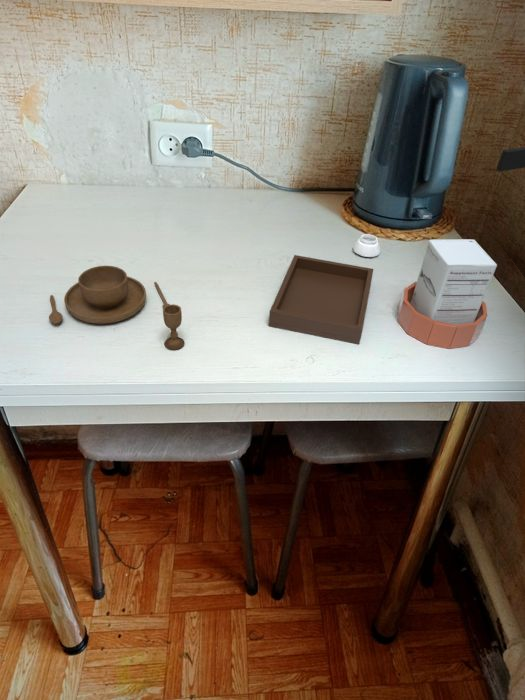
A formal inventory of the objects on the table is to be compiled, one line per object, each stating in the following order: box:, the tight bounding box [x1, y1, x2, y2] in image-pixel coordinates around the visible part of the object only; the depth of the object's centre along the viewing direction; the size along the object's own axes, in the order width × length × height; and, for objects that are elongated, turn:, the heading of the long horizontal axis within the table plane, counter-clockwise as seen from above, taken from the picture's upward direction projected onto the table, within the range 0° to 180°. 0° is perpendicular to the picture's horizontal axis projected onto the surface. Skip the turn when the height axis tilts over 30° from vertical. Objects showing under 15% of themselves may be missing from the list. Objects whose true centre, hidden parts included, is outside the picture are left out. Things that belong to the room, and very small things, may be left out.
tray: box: [268, 254, 374, 345], centre depth 81 cm, size 18×14×3 cm
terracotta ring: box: [397, 281, 488, 350], centre depth 78 cm, size 12×12×4 cm
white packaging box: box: [410, 238, 498, 325], centre depth 75 cm, size 7×7×13 cm
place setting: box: [48, 265, 186, 351], centre depth 73 cm, size 18×20×6 cm
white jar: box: [352, 233, 381, 258], centre depth 94 cm, size 5×3×5 cm
